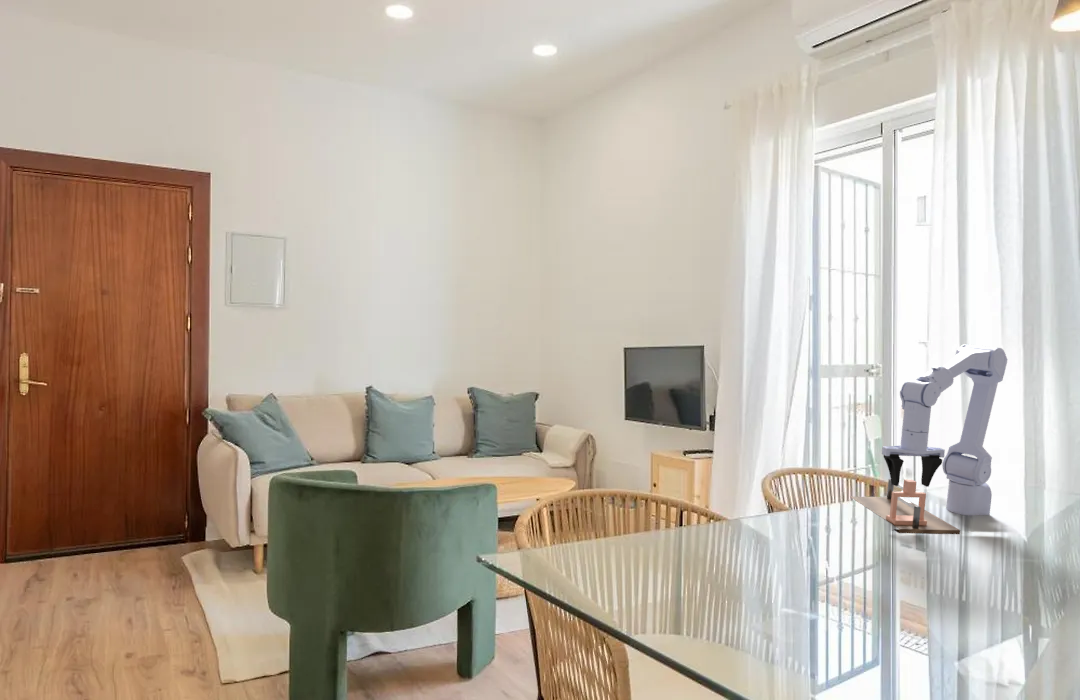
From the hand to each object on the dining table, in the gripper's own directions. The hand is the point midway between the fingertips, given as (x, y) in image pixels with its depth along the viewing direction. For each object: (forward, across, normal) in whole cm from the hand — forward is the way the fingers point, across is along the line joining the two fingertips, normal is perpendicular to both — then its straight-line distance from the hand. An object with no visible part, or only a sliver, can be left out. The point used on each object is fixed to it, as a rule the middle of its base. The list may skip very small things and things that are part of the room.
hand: (909, 485), depth 181 cm
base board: (+10, -3, -8) cm, 13 cm away
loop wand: (+9, 0, 0) cm, 9 cm away
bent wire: (+10, -3, -8) cm, 13 cm away
